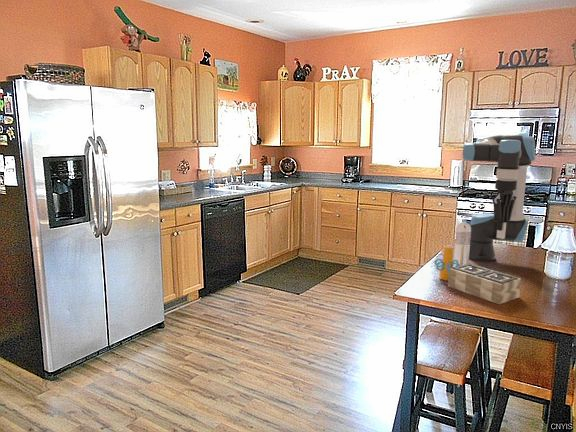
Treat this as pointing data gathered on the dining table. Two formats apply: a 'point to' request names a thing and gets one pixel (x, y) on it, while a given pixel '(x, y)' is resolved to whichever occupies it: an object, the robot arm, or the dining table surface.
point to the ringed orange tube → (446, 263)
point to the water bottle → (462, 243)
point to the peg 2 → (497, 276)
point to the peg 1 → (471, 269)
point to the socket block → (484, 283)
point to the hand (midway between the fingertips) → (500, 237)
